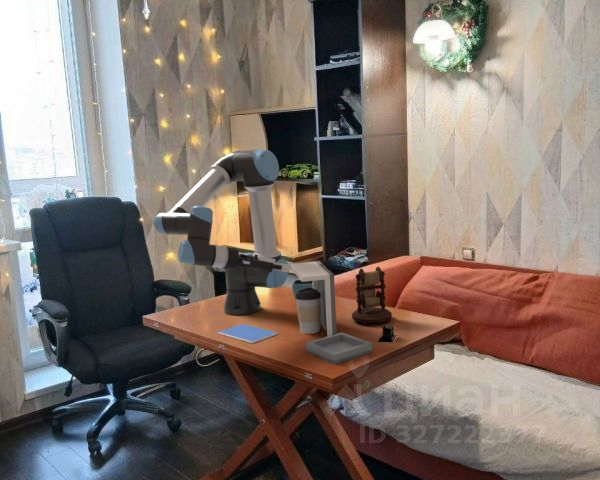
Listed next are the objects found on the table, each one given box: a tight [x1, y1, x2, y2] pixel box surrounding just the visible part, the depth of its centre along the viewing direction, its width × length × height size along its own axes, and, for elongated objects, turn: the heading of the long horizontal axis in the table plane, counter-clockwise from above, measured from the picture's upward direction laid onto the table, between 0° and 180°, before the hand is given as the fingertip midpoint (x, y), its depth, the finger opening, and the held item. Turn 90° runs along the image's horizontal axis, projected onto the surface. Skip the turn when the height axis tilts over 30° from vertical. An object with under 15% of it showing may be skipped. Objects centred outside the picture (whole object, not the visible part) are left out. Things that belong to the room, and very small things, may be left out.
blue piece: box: [217, 323, 278, 344], centre depth 210 cm, size 19×13×1 cm, turn 46°
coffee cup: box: [295, 288, 321, 335], centre depth 208 cm, size 9×9×15 cm
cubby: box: [290, 260, 338, 337], centre depth 208 cm, size 24×11×22 cm, turn 10°
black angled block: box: [377, 324, 397, 343], centre depth 197 cm, size 12×7×5 cm, turn 159°
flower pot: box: [291, 279, 313, 302], centre depth 247 cm, size 9×9×9 cm
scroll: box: [351, 266, 393, 326], centre depth 216 cm, size 15×15×20 cm
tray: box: [305, 332, 373, 365], centre depth 186 cm, size 15×15×3 cm
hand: (281, 265), depth 207 cm, fingers open, 13 cm apart
